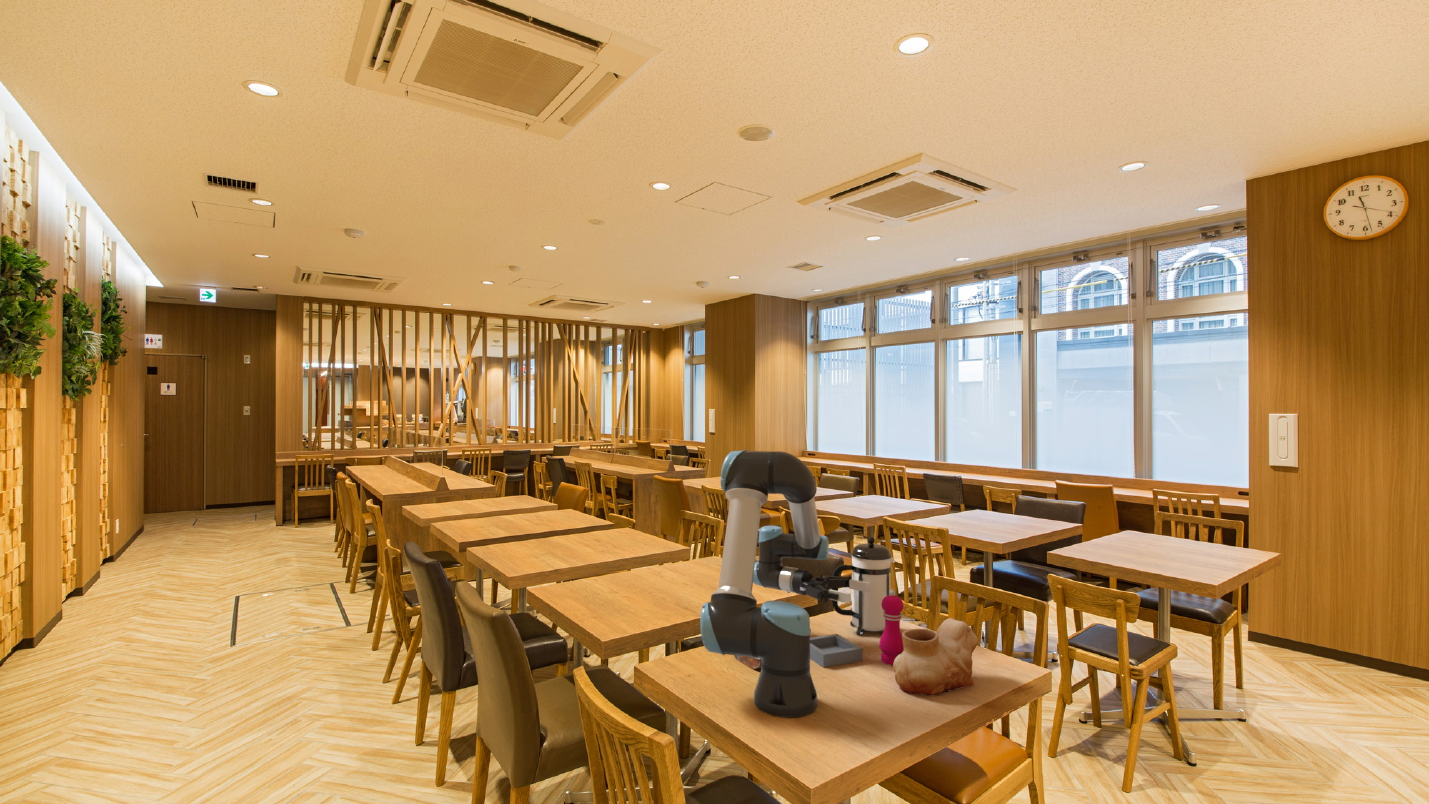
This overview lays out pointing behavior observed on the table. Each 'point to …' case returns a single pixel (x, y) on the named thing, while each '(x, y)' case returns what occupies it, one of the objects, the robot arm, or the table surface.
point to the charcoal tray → (834, 650)
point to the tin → (750, 661)
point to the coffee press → (874, 569)
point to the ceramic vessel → (936, 659)
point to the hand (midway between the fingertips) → (860, 592)
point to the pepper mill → (891, 629)
